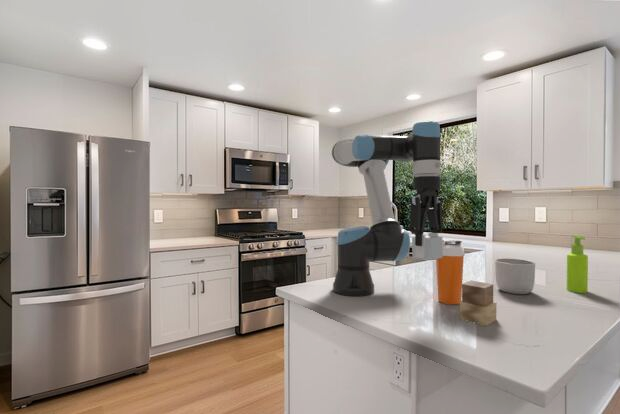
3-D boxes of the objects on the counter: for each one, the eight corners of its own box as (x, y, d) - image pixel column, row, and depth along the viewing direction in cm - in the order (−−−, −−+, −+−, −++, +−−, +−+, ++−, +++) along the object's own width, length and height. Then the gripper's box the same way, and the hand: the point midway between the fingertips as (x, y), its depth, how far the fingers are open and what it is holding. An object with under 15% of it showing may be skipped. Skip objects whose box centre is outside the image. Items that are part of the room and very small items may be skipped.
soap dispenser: (570, 292, 118) (571, 236, 118) (564, 287, 124) (564, 234, 124) (591, 294, 116) (592, 237, 115) (583, 289, 122) (584, 235, 122)
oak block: (459, 319, 93) (460, 301, 93) (470, 313, 98) (470, 296, 98) (486, 326, 88) (486, 307, 88) (496, 320, 92) (496, 302, 92)
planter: (512, 285, 128) (512, 257, 128) (543, 294, 116) (543, 263, 116) (487, 288, 124) (487, 259, 124) (517, 297, 113) (517, 265, 112)
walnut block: (462, 301, 93) (462, 284, 93) (471, 297, 97) (471, 280, 97) (484, 306, 88) (484, 288, 88) (493, 302, 92) (493, 284, 92)
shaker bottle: (467, 306, 104) (467, 242, 103) (437, 305, 105) (437, 242, 105) (460, 298, 112) (460, 239, 112) (432, 297, 114) (432, 238, 114)
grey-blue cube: (412, 257, 97) (412, 237, 97) (424, 255, 100) (423, 235, 100) (431, 260, 92) (430, 238, 92) (442, 257, 96) (442, 236, 96)
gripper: (419, 173, 87) (420, 261, 87) (455, 176, 99) (455, 254, 99) (395, 175, 93) (396, 258, 93) (432, 178, 105) (432, 251, 105)
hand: (427, 255), depth 96 cm, fingers closed on grey-blue cube, 6 cm apart
